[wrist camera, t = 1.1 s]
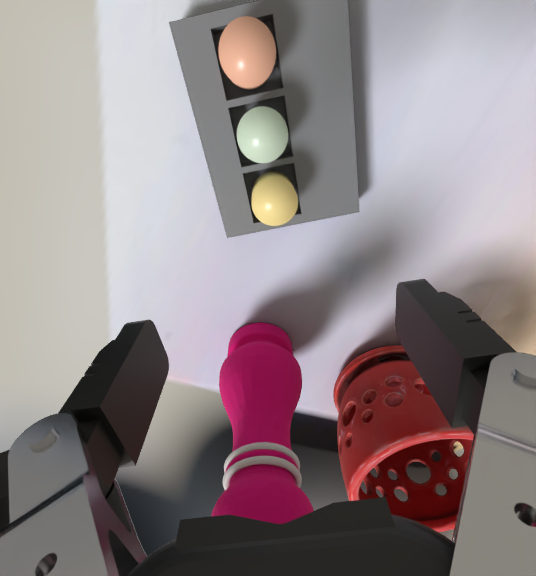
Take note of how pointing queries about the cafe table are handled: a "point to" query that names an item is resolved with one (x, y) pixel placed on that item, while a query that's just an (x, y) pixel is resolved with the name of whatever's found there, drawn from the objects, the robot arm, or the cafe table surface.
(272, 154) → the sage button
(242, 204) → the panel
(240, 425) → the pepper mill
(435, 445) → the plant pot
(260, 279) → the cafe table surface
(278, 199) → the ochre button
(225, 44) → the terracotta button
